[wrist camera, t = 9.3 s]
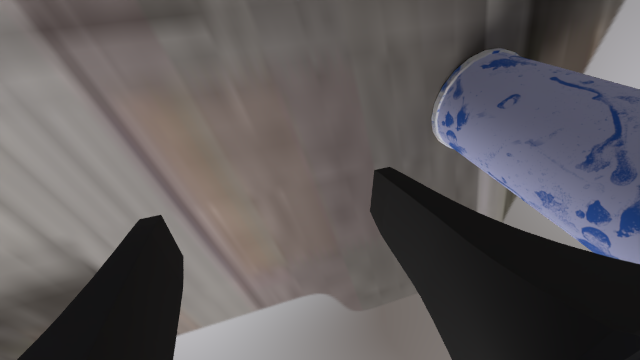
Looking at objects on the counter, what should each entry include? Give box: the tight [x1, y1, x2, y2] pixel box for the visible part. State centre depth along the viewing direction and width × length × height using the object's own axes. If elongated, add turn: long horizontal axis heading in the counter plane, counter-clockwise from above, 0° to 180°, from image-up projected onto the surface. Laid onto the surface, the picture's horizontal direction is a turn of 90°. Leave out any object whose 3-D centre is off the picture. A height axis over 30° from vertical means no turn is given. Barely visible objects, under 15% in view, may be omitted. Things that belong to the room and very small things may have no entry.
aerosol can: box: [431, 48, 640, 264], centre depth 14 cm, size 8×8×20 cm
